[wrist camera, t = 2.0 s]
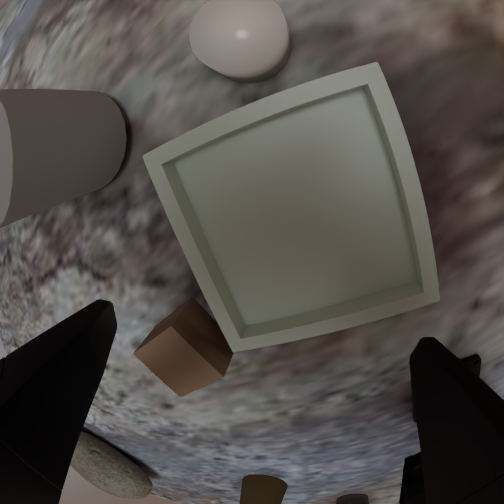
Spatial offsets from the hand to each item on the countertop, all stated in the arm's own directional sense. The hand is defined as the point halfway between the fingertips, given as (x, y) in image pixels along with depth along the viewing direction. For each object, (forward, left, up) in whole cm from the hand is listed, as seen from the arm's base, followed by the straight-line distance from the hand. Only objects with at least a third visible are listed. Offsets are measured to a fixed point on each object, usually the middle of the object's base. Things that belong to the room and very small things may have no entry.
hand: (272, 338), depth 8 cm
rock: (-26, +41, -12) cm, 50 cm away
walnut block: (-6, +11, -12) cm, 17 cm away
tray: (0, 0, -12) cm, 12 cm away
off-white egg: (+11, -1, -12) cm, 16 cm away
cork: (-32, +14, -12) cm, 37 cm away
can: (+11, +12, -12) cm, 20 cm away
